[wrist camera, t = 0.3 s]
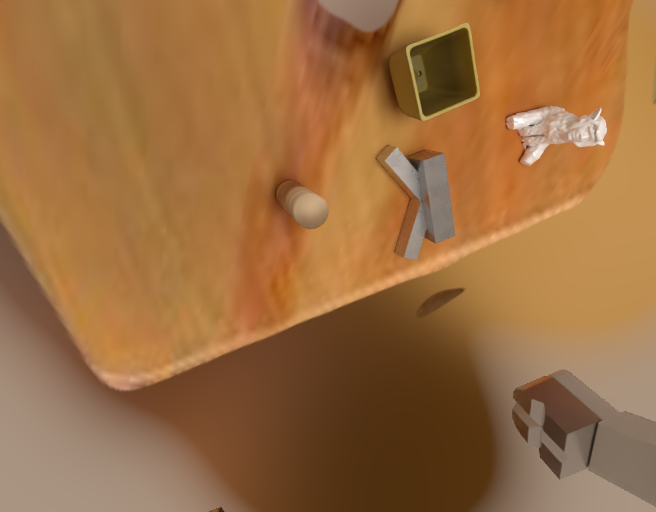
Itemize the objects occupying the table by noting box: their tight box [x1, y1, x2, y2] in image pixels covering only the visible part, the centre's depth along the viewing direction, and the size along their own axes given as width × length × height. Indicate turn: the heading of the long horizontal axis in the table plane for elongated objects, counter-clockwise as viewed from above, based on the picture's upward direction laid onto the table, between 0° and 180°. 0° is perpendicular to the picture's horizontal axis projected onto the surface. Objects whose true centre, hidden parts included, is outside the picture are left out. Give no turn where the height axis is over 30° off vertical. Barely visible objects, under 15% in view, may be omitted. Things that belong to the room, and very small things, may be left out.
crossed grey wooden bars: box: [376, 146, 455, 259], centre depth 59 cm, size 18×8×5 cm, turn 15°
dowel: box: [276, 180, 328, 229], centre depth 50 cm, size 4×4×11 cm
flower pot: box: [389, 23, 480, 121], centre depth 51 cm, size 9×9×9 cm
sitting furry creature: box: [506, 106, 607, 166], centre depth 59 cm, size 10×9×12 cm
